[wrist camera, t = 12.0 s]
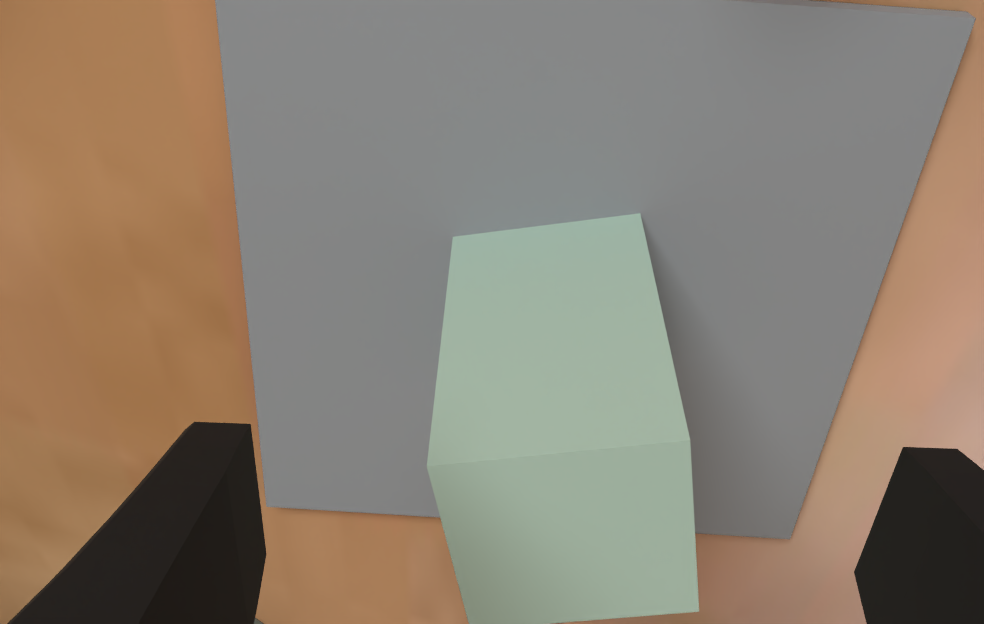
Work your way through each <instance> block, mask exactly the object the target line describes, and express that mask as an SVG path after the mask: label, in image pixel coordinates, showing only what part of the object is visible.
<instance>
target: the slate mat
mask: <svg viewBox="0 0 984 624" xmlns="http://www.w3.org/2000/svg"><path fill="white" fill-rule="evenodd" d="M215 3H216V13H217V23H218V33H219V43H220V53H221V62H222V72H223V82H224V92H225V102H226V112H227V122H228V131H229V141H230V151H231V161H232V171H233V181H234V191H235V200H236V210H237V220H238V230H239V240H240V250H241V260H242V270H243V279H244V289H245V299H246V309H247V319H248V329H249V339H250V348H251V358H252V368H253V378H254V388H255V398H256V408H257V418H258V427H259V437H260V447H261V457H262V467H263V477H264V487H265V496H266V506H267V507H281V508H297V509H313V510H329V511H345V512H361V513H377V514H393V515H409V516H425V517H440V514H439V511H438V507H437V503H436V499H435V496H434V492H433V488H432V484H431V481H430V477H429V473H428V469H427V459H428V450H429V442H430V433H431V424H432V415H433V406H434V398H435V389H436V380H437V371H438V362H439V354H440V345H441V336H442V327H443V318H444V310H445V301H446V292H447V283H448V274H449V266H450V257H451V248H452V239H453V237H455V236H463V235H471V234H479V233H487V232H495V231H503V230H511V229H519V228H527V227H535V226H543V225H551V224H559V223H567V222H575V221H583V220H591V219H599V218H607V217H614V216H622V215H630V214H638V213H640V214H641V219H642V223H643V228H644V232H645V237H646V241H647V246H648V251H649V255H650V260H651V264H652V269H653V273H654V278H655V282H656V287H657V291H658V296H659V301H660V305H661V310H662V314H663V319H664V323H665V328H666V332H667V337H668V341H669V346H670V350H671V355H672V360H673V364H674V369H675V373H676V378H677V382H678V387H679V391H680V396H681V400H682V405H683V410H684V414H685V419H686V423H687V428H688V432H689V437H690V445H691V464H692V484H693V503H694V523H695V533H698V534H714V535H730V536H746V537H762V538H778V539H790V538H791V535H792V532H793V529H794V526H795V524H796V521H797V518H798V515H799V512H800V510H801V507H802V504H803V501H804V498H805V496H806V493H807V490H808V487H809V484H810V482H811V479H812V476H813V473H814V470H815V468H816V465H817V462H818V459H819V456H820V454H821V451H822V448H823V445H824V442H825V440H826V437H827V434H828V431H829V428H830V426H831V423H832V420H833V417H834V414H835V412H836V409H837V406H838V403H839V400H840V398H841V395H842V392H843V389H844V386H845V384H846V381H847V378H848V375H849V372H850V370H851V367H852V364H853V361H854V358H855V356H856V353H857V350H858V347H859V344H860V341H861V339H862V336H863V333H864V330H865V327H866V325H867V322H868V319H869V316H870V313H871V311H872V308H873V305H874V302H875V299H876V297H877V294H878V291H879V288H880V285H881V283H882V280H883V277H884V274H885V271H886V269H887V266H888V263H889V260H890V257H891V255H892V252H893V249H894V246H895V243H896V241H897V238H898V235H899V232H900V229H901V227H902V224H903V221H904V218H905V215H906V213H907V210H908V207H909V204H910V201H911V199H912V196H913V193H914V190H915V187H916V185H917V182H918V179H919V176H920V173H921V171H922V168H923V165H924V162H925V159H926V157H927V154H928V151H929V148H930V145H931V143H932V140H933V137H934V134H935V131H936V128H937V126H938V123H939V120H940V117H941V114H942V112H943V109H944V106H945V103H946V100H947V98H948V95H949V92H950V89H951V86H952V84H953V81H954V78H955V75H956V72H957V70H958V67H959V64H960V61H961V58H962V56H963V53H964V50H965V47H966V44H967V42H968V39H969V36H970V33H971V30H972V28H973V25H974V22H975V19H976V18H975V17H973V16H972V15H971V14H969V13H968V12H963V11H950V10H936V9H922V8H908V7H894V6H881V5H867V4H853V3H839V2H826V1H812V0H215Z"/></svg>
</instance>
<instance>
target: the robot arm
mask: <svg viewBox="0 0 984 624" xmlns="http://www.w3.org/2000/svg"><path fill="white" fill-rule="evenodd" d="M265 558H266V548H265V539H264V531H263V523H262V514H261V506H260V498H259V490H258V481H257V473H256V465H255V457H254V448H253V440H252V432H251V424H237V423H209V422H194V423H193V424H191V425H190V426H189V427H188V428H187V429H185V430H184V432H183V433H182V434H181V435H180V436H179V438H178V439H177V440H176V441H175V442H174V444H173V445H172V446H171V447H170V448H169V450H168V451H167V452H166V453H165V454H164V456H163V457H162V458H161V459H160V460H159V461H158V463H157V464H156V465H155V466H154V467H153V469H152V470H151V471H150V472H149V473H148V474H147V476H146V477H145V478H144V479H143V480H142V481H141V483H140V484H139V485H138V486H137V487H136V488H135V490H134V491H133V492H132V493H131V494H130V495H129V496H128V498H127V499H126V500H125V501H124V502H123V503H122V504H121V505H120V507H119V508H118V509H117V510H116V511H115V512H114V513H113V515H112V516H111V517H110V518H109V519H108V520H107V521H106V522H105V523H104V524H103V526H102V527H101V528H100V529H99V530H98V531H97V532H96V533H95V534H94V535H93V536H92V537H91V538H90V540H89V541H88V542H87V543H86V544H85V545H84V546H83V547H82V548H81V549H80V550H79V551H78V553H77V554H76V555H75V556H74V557H73V558H72V559H71V560H70V561H69V562H68V563H67V564H66V566H65V567H64V568H63V569H62V570H61V571H60V572H59V573H58V574H57V575H56V576H55V577H54V578H53V579H52V580H51V581H50V582H49V583H48V584H47V585H46V586H45V587H44V588H43V589H42V590H41V591H40V592H39V593H38V594H37V595H36V596H35V597H34V598H33V599H32V600H31V601H30V602H29V603H28V604H27V605H26V606H25V607H24V608H23V609H22V610H21V611H20V612H19V613H18V614H17V615H16V616H15V617H14V618H13V619H12V620H11V621H10V622H9V623H8V624H254V620H255V615H256V610H257V604H258V599H259V593H260V587H261V581H262V576H263V570H264V564H265ZM854 573H855V577H856V582H857V586H858V590H859V594H860V598H861V602H862V606H863V610H864V614H865V619H866V622H867V624H984V470H983V469H981V468H980V467H979V466H978V465H977V464H975V463H974V462H973V461H972V460H970V459H969V458H968V457H967V456H965V455H964V454H963V453H962V452H960V451H959V450H958V449H943V448H914V447H903V449H902V451H901V454H900V456H899V459H898V461H897V464H896V467H895V469H894V472H893V474H892V477H891V479H890V482H889V484H888V487H887V490H886V492H885V495H884V497H883V500H882V502H881V505H880V507H879V510H878V513H877V515H876V518H875V520H874V523H873V525H872V528H871V530H870V533H869V536H868V538H867V541H866V543H865V546H864V548H863V551H862V554H861V556H860V559H859V561H858V564H857V566H856V569H855V571H854Z"/></svg>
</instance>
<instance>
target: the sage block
mask: <svg viewBox="0 0 984 624" xmlns="http://www.w3.org/2000/svg"><path fill="white" fill-rule="evenodd" d="M427 469H428V473H429V477H430V481H431V484H432V488H433V492H434V496H435V499H436V503H437V507H438V511H439V514H440V518H441V522H442V525H443V529H444V533H445V537H446V540H447V544H448V548H449V552H450V555H451V559H452V563H453V566H454V570H455V574H456V578H457V581H458V585H459V589H460V593H461V596H462V600H463V604H464V607H465V611H466V615H467V619H468V622H469V624H551V623H563V622H576V621H588V620H601V619H613V618H626V617H638V616H651V615H663V614H676V613H688V612H699V600H698V581H697V561H696V542H695V523H694V503H693V484H692V464H691V445H690V437H689V432H688V428H687V423H686V419H685V414H684V410H683V405H682V400H681V396H680V391H679V387H678V382H677V378H676V373H675V369H674V364H673V360H672V355H671V350H670V346H669V341H668V337H667V332H666V328H665V323H664V319H663V314H662V310H661V305H660V301H659V296H658V291H657V287H656V282H655V278H654V273H653V269H652V264H651V260H650V255H649V251H648V246H647V241H646V237H645V232H644V228H643V223H642V219H641V214H640V213H638V214H630V215H622V216H614V217H607V218H599V219H591V220H583V221H575V222H567V223H559V224H551V225H543V226H535V227H527V228H519V229H511V230H503V231H495V232H487V233H479V234H471V235H463V236H455V237H453V239H452V248H451V257H450V266H449V274H448V283H447V292H446V301H445V310H444V318H443V327H442V336H441V345H440V354H439V362H438V371H437V380H436V389H435V398H434V406H433V415H432V424H431V433H430V442H429V450H428V459H427Z"/></svg>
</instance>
